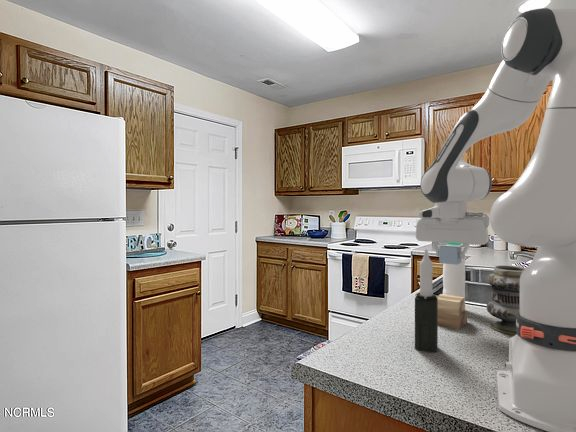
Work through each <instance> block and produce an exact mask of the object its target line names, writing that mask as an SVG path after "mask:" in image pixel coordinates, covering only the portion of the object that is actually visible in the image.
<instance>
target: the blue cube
mask: <svg viewBox="0 0 576 432" xmlns="http://www.w3.org/2000/svg"><path fill="white" fill-rule="evenodd" d="M438 248H439V258H438V260H439V261H438V262H439V264H443V263H444V264H455V265H457V264H459V263H461V259H460V258H458V256H459V255H458V253H459V252H462V251H463V250H462V248H463V247H462V245H461V246H448V245H447V244H444V245H439V246H438Z"/></svg>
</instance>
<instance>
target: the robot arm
mask: <svg viewBox="0 0 576 432" xmlns="http://www.w3.org/2000/svg"><path fill="white" fill-rule="evenodd" d="M500 53H501V57H502V61H500V63H499V66H498V67H497V69H496V71H495V73H494V74H493V76H492V78H491V80H490V83H489V85H488V87H487V88H486V89H487V90H486V91H485V93H484V94H483V95H482V97H481V98H480V100H479V101H478V102H477V103H476V104H475V105H474V106H473V107H472V108H471V109H470V110H468V111H467V112H465V113H464V114H463V115H462V116H461V117H460V118H459V120H457V122H456V123H455V124H454V125H455V126H454V127H453V128H452V130H451V131H450V132H449V133H450V134H449V135H448V137H447V138H446V141H444V143H443V145H442V147H441V149H440V150H439V152H438V154H437V156H436V157H435V159H434V160H433V162H432V163H431V165H430V166H429V167H428V168H427V169H426V170H425V172H424V173H423V175H422V176H421V178H420V179H421V180H420V191H421V193H422V195H423V196H424V197H425V198H426V199H427V200H428V201H429V202H431V203H433V204H434V206H433V207H430V208H428V209H424V210H420V211H419V212H418V217H419V219H418V220H417V222H416V227H415V238H416V240H417V241H418V242H428V243H429V242H431V243H432V248H433V249H434V250H435V256H436V257H439V246H440V243H446V244H447V243H462V244H461V246H462V248H463V250H462V252H459V253H458V255H459V256H458V258H460V259H465V260H466V252H467V251H468V249H469V248H470V245H482V246H483V245H486V244H487V243H488V242H489V239H490V238H489V237H490V236H489V229H488V227H489V225H490V227H491V230H492V231H493V233H494V234H495V235H496V236H497V237H498V238H499V239H500V240H501V241H503V242H506V243H508V244H511V245H515V246H521V247H525V248H526V247H527V248H537V249H536V252H535V254H534V256H533V259H532V260H531V261H530V264H529V265H527V266H526V267H524V268H525V269H524V271H523V272H522V274H521V276H520V309H519V313H517V320H516V333H517V334H516V335H513V336H511V337H510V338H509V339H508V342H509V343H508V361H506V362H505V363H504V368H505V369H506V370H498V371H496V389H497V390H496V391H497V404H498V410H499V411H500V412H502V413H504V414H505V415H507V416H509V417H511V418H512V419H514V420H517V421H519V422H522V423H523V424H526V425H529V426H530V427H531V426H532V427H533V428H537V429H540V430H543V431H546V432H576V8H562V9H561V8H559V9H558V8H557V9H550V8H548V7H543V8H542V7H541V8H536V9H530V10H526V11H524V12H522V13H521V14H519V15H518V16H517V17H516V18H515V19H514V20H513V21H512V22H511V23H510V25H509V26H508V28H507V30H506V32H505V34H504V36H503V39H502V42H501V51H500ZM551 81H552V83H551V90H550V95H549V96H548V97H549V98H548V100H547V104H546V107H545V112H544V116H543V120H542V124H541V127H540V131H539V135H538V139H537V141H536V142H537V143H536V145H535V149H534V150H533V154H532V156H531V158H530V160H529V161H528V164H527V165H526V167H525V168H524V170H523V171H522V173H521V175H520V176H519V178H518V179H517V181H516V182H515V183H514V184H513V185H512V186H511V187H510V188H509V189H508V190H507V191H506V192H504V193H502V194H501V195H500V196H498V197H497V198H496V200H495V201H494V202H493V204H492V206H491V208H490V213H489V216H488V215H487V214H485V213H484V212H470V211H469V212H468V210H467V209H468V208H467V206H468V203H467V202H474V201H480V200H484V199H485V198H486V197H487V196H488V195H489V194H490V192H491V190H492V183H493V181H492V177H491V174H490V172H489V171H488V170H487V169H486V168H484V167H480V166H476V165H472V164H470V163H467V161H466V160H465V158H463V157H464V155H465V154H466V152H467V151H468V150H469V148H470V147H472V146H473V145H474V144H476V143H478V142H479V141H481V140H483V139H484V140H485V139H486V138H489V137H492V136H495V135H499V134H503V133H506V132H507V133H508V132H509V131H510V132H511V131H512V130H515V129H517V128H519V127H520V126H522V125H523V124H525V122H526V121H528V119H529V118H530V117H531V116H532V115H533V113H534V112H535V110H536V109H537V106H538V104H539V103H540V101H541V99H542V98H543V96H544V93H545V91H546V89H547V87H548V85H549V84H550V82H551Z"/></svg>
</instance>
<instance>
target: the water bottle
mask: <svg viewBox="0 0 576 432" xmlns="http://www.w3.org/2000/svg"><path fill="white" fill-rule="evenodd" d="M446 245H448V246H462V243H446ZM442 264H443V266H442V285H443V286H442V287H443V289H442V294H444V295H451V296H458V297H465V298H466V290H465V289H466V288H465V287H466V258H465V259H461V263H459V264H457V265H455V264H444V263H442Z"/></svg>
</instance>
